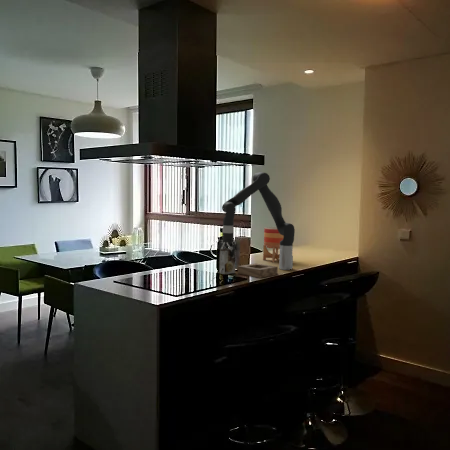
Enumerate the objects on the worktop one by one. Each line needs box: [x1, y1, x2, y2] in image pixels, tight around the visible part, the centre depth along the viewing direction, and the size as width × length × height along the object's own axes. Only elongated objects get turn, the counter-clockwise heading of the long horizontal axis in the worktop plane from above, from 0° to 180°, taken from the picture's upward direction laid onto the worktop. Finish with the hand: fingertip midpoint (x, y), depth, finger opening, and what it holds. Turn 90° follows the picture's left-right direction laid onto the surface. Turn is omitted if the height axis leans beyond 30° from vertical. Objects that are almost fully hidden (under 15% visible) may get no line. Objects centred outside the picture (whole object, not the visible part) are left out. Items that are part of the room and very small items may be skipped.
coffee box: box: [219, 248, 236, 275], centre depth 300 cm, size 9×6×16 cm
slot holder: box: [237, 263, 279, 279], centre depth 299 cm, size 19×19×5 cm
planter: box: [262, 226, 284, 263], centre depth 359 cm, size 20×20×27 cm
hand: (227, 256), depth 299 cm, fingers open, 8 cm apart
